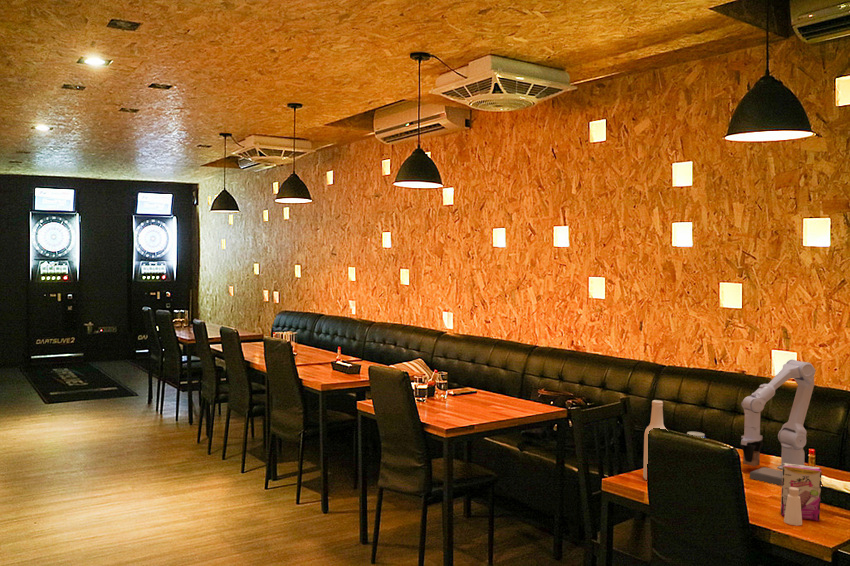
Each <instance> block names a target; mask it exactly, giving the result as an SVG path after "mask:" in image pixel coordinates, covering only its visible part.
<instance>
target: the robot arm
mask: <svg viewBox="0 0 850 566" xmlns="http://www.w3.org/2000/svg"><path fill="white" fill-rule="evenodd" d="M815 374H816V368H815V367H814V365H813V364H812V363H811V362H806V361H800V360H795V359H789V360H787V361H786V362H785V363H784V364H783V365H782V368H781V370H780V371H779V372H778V373H777V374H776V375H775V376H774V377H773V378H772V379H771V380H770V382H768V383H762V384H760V385H759V387H758V388H757V389H756V390H755V391H754V392H752V393H751V395H748V396H746V397H744V399H743V400H742V401H741V407H742V409H743V413H744V423H743V424H744V426H743V427H744V428H743V429H744V431H743V432H744V434H743V435H741V436H740V438H741V441H740V443H739V446H740V448H741V449H742V452H744V456H745V460H746V461H748V462H751V461H752V457H753V452H754V451H757V452H760V451H761V449H762V448H763V445H764V442H763V435H761V412H762V411H763V410H764V408H765V405H766V403H767V402H768V401H770V400H771V399H772V398H773V397H774V396H775V395H776V390H777V389H778V388H779V387H781V386H782V385H783V384H784V383H787V381H788V380H791V379H794V381H795V383H796V384H797V387H796V390H795V391H796V392H795V396H794V398H793V403H792V405H791V409H790V413H789V417H788V421H786V422H785V423H784V424H782V426H781V429H780V430H779V431H778V434H777V439H778V441H779V442H780V445H781V459H780V460H781V461H780V463H781V464H780V465H778V466H776V468H777V469H780V470H782V467H783V463H789V464H796V465H804V466H805V457H806V456H805V454H806V453H805V450H804V447H805V446H806V444H807V433H808V432H807V429H805V427H804V423H805V420H806V416H807V414H808V413H807V411H808V409H809V406H810V401H811V398H812V394H813V391H814V387H815ZM760 453H761V452H760Z"/></svg>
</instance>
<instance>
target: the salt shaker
mask: <svg viewBox="0 0 850 566" xmlns="http://www.w3.org/2000/svg"><path fill="white" fill-rule="evenodd" d="M798 491H799V489H798V488H795V487H790V488H789V495H788V496H787V502H786V509H785V516H783V517H784V519H783V522H784V523H785V524H787V525H791V526H802V525H803V519H802V514H801V501H800V496H798V494H799V492H798Z"/></svg>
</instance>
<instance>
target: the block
mask: <svg viewBox="0 0 850 566" xmlns="http://www.w3.org/2000/svg"><path fill="white" fill-rule="evenodd" d="M742 452H743V451H742ZM760 453H761V452H757V451H754V452H753V457H752V461H751V462H748V461H746V460H745V456H744V452H743V453H742V455H743V456H742V458H743V459H742V464H743V465H747V466H752V467H757V466H758V465H760V463H761V462H760V459H761V457H760Z"/></svg>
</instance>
